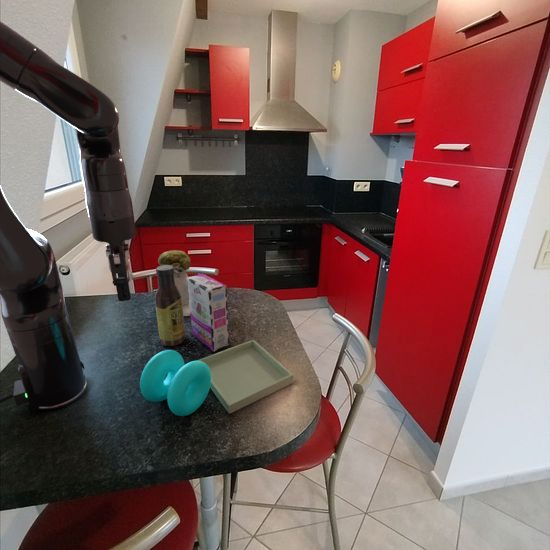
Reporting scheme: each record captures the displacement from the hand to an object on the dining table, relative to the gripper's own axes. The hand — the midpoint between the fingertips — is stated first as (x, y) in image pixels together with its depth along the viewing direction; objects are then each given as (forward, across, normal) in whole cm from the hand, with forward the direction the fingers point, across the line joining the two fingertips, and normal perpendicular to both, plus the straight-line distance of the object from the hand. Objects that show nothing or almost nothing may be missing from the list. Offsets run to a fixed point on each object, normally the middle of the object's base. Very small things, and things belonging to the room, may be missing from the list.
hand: (124, 290), depth 66 cm
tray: (+18, +14, +21) cm, 31 cm away
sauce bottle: (+19, -6, +9) cm, 22 cm away
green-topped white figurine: (+20, -23, +12) cm, 33 cm away
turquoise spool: (+18, +17, +7) cm, 25 cm away
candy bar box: (+19, -3, +18) cm, 26 cm away
